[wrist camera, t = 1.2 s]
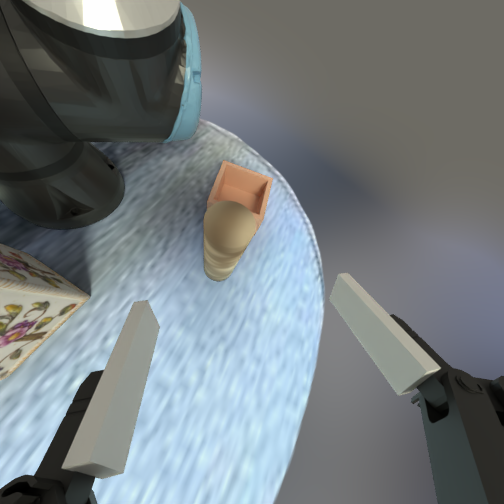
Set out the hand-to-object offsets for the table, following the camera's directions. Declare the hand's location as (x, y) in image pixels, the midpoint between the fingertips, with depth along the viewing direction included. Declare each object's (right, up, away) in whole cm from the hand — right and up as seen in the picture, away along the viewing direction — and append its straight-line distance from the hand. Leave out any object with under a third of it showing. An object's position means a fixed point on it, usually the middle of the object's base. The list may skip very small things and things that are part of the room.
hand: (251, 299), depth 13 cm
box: (-3, +12, +24) cm, 27 cm away
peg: (-6, +1, +19) cm, 20 cm away
